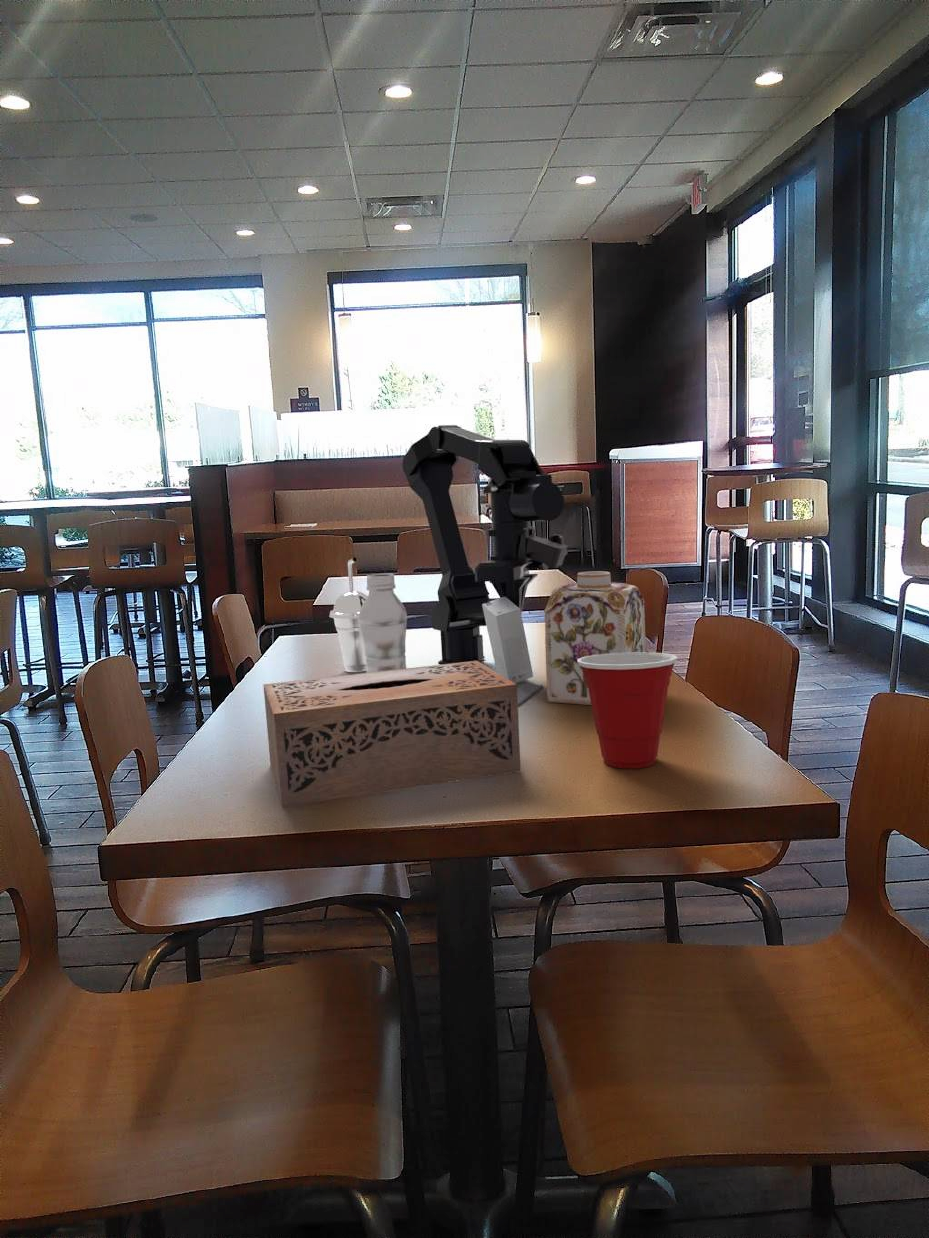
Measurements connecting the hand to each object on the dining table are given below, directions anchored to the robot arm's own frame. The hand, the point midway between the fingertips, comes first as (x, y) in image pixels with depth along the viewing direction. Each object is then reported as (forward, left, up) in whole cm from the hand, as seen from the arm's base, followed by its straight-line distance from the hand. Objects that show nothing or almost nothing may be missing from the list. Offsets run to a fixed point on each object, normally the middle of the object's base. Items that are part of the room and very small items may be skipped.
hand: (516, 620), depth 141 cm
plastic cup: (+26, -37, -10) cm, 46 cm away
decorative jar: (+15, -9, -10) cm, 20 cm away
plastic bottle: (-8, -29, -10) cm, 32 cm away
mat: (0, -12, -9) cm, 16 cm away
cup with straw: (-30, +1, -10) cm, 32 cm away
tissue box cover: (+1, -46, -10) cm, 47 cm away
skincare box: (0, -2, -8) cm, 9 cm away
